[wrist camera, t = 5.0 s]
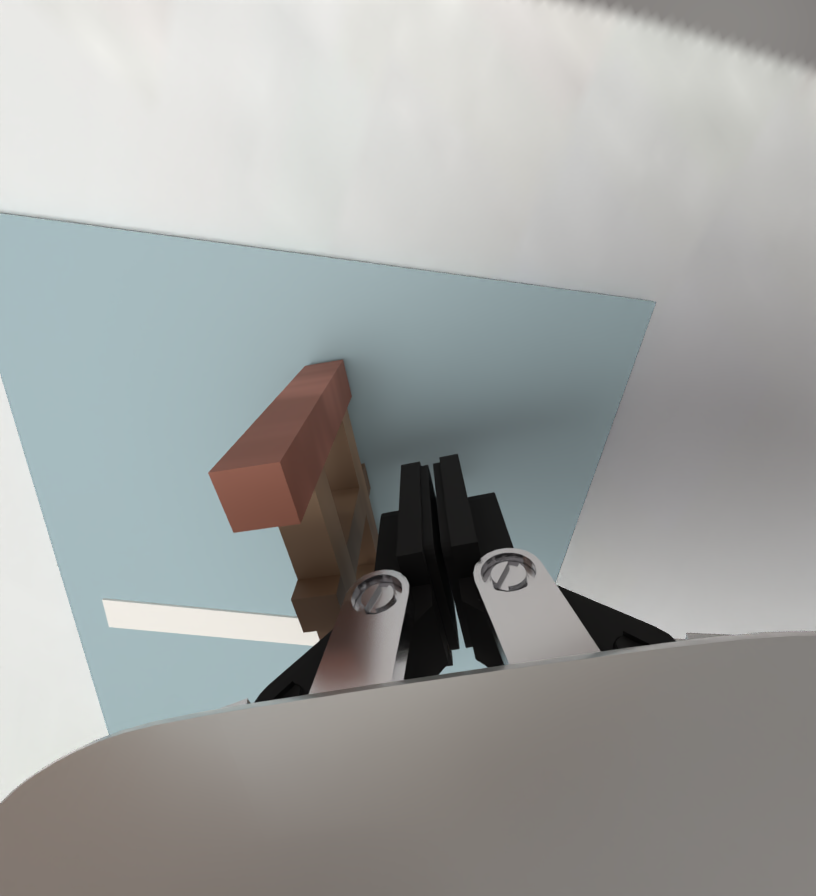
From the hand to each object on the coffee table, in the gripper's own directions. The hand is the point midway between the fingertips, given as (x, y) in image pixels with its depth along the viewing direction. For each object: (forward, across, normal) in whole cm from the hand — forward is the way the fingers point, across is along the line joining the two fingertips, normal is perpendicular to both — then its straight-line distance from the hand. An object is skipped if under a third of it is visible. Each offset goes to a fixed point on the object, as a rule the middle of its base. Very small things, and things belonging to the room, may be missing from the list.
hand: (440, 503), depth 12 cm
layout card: (+3, +7, +6) cm, 9 cm away
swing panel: (+2, +3, +1) cm, 4 cm away
